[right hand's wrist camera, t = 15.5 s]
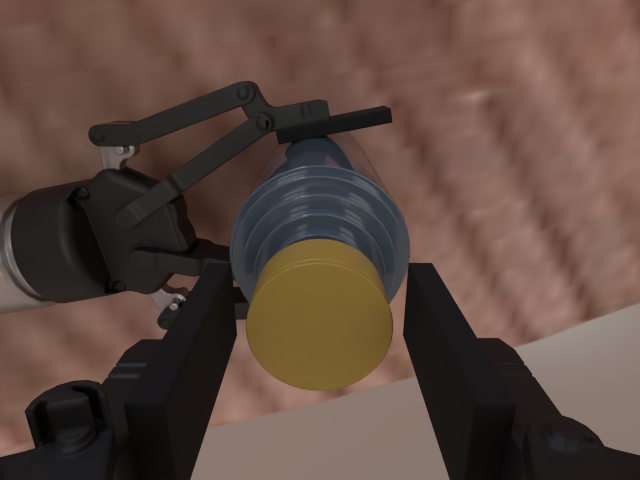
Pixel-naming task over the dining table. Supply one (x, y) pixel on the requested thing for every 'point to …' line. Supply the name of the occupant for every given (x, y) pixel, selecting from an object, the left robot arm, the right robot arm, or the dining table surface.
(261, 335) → the cap
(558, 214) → the dining table surface
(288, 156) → the bottle
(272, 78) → the dining table surface
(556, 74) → the dining table surface
